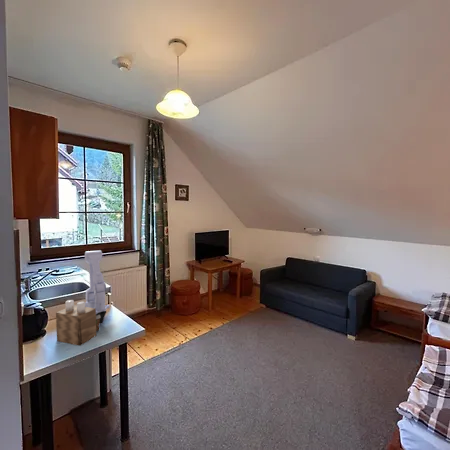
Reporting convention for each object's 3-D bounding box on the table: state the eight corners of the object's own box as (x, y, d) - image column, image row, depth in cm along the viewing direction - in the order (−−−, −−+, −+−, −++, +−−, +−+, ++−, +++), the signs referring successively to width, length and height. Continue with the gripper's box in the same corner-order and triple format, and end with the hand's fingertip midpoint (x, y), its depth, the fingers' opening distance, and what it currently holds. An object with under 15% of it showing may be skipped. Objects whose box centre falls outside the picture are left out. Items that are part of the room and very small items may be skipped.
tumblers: (64, 310, 149) (63, 302, 149) (70, 308, 153) (69, 299, 152) (81, 313, 145) (80, 304, 145) (86, 310, 149) (86, 302, 149)
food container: (76, 332, 158) (75, 315, 157) (84, 327, 164) (84, 311, 163) (93, 335, 155) (92, 318, 154) (101, 330, 160) (100, 314, 160)
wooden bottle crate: (56, 340, 148) (55, 312, 146) (74, 331, 159) (73, 304, 157) (80, 345, 143) (79, 316, 142) (96, 335, 154) (95, 308, 153)
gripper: (96, 307, 159) (97, 329, 160) (113, 298, 173) (113, 319, 174) (87, 305, 161) (87, 327, 162) (104, 297, 175) (104, 317, 176)
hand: (100, 323), depth 168 cm, fingers closed
